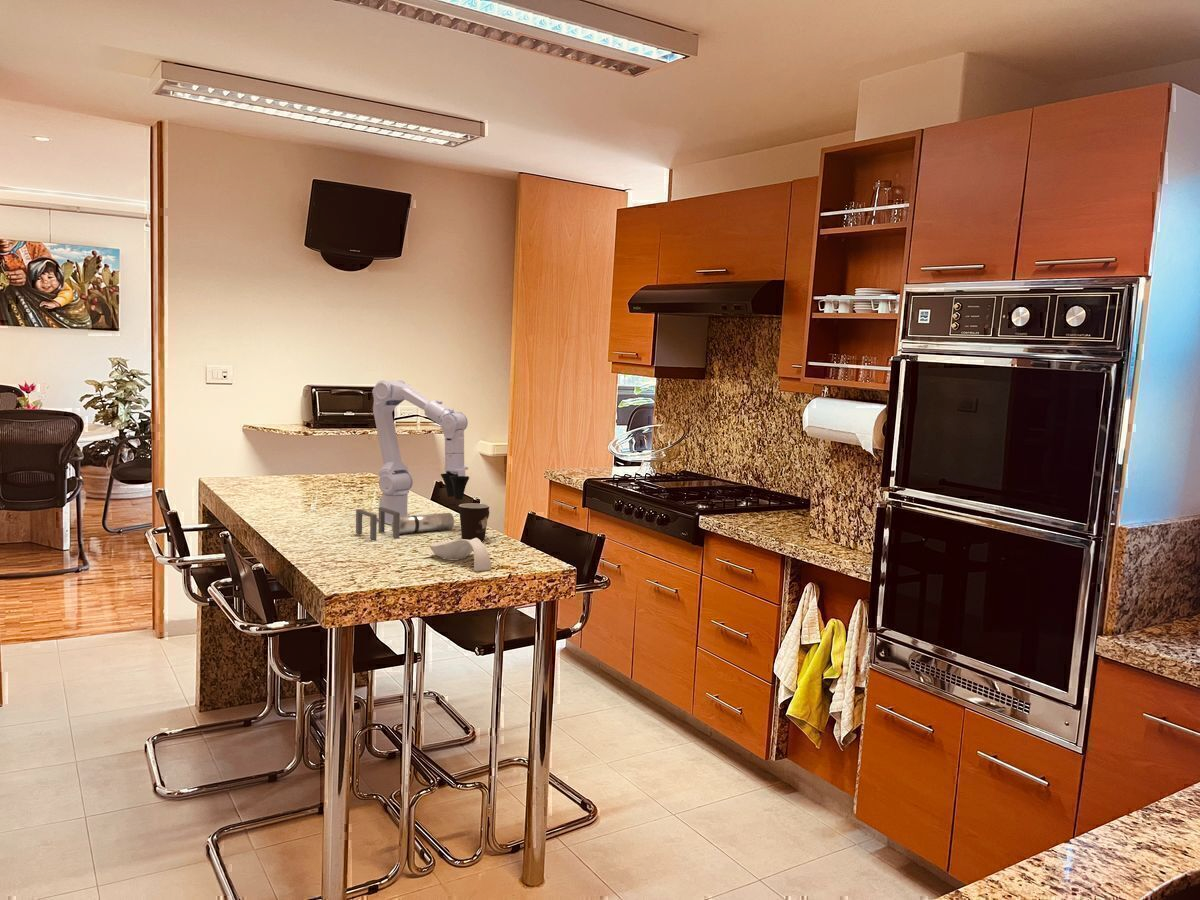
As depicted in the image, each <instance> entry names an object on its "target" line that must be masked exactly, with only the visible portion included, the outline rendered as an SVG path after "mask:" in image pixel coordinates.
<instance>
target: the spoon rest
mask: <svg viewBox="0 0 1200 900" xmlns="http://www.w3.org/2000/svg"><path fill="white" fill-rule="evenodd" d="M429 548H430V550H431V551H432V553H433V554H435V555H436V556H438V557H439V558H441V559H442V558H445V559H444V560H446V559H461V560H463V559H462V558H464V559H466V558H467V557H468V556H469V555H470V554H471V553H472V552H473V572H475V571H476V572H477V571H478V572H483V571H490V570H492V561H491V557H490V554H489V552H488V550H487V548H486V546H485V545H484V543H483V542H481V541H480V540H479V539H478V538H474V539H472V540H467V539H462V538H461V539H457V540H448V541H447V540H446V541H438V542H437V541H436V542H432V543H430V544H429Z"/></svg>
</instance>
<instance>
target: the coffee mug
mask: <svg viewBox="0 0 1200 900" xmlns="http://www.w3.org/2000/svg"><path fill="white" fill-rule="evenodd" d="M458 510H459V511H458V512H459V521H460V522H459V523H460V533H461V540H462V539H467V540H472V539H474V538H478V539H479V540H480V541H483V540H484V541H485V539H486V532H487V527H488V526H487V525H488V519H489V516H490V505H488V504H486V503H473V502H471V503H469V502H467V503H461V504H459V505H458ZM484 541H483V542H484Z"/></svg>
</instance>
